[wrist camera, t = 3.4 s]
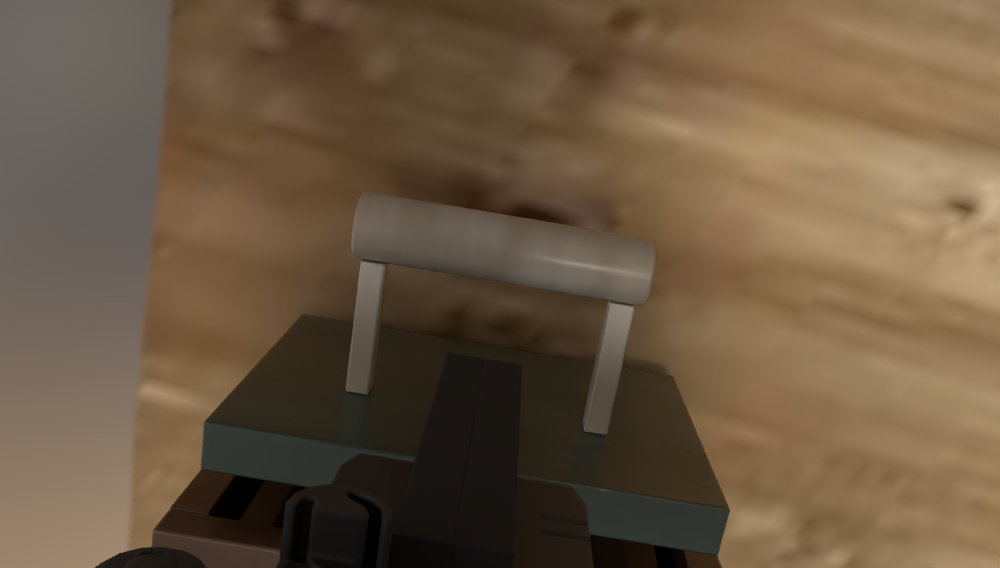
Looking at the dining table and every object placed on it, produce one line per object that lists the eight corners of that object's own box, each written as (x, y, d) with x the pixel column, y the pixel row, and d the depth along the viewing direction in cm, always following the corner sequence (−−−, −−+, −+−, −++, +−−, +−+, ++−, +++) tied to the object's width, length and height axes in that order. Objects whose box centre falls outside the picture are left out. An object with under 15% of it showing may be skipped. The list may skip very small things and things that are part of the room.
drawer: (318, 152, 24) (219, 195, 17) (709, 217, 24) (789, 290, 17) (264, 677, 29) (169, 895, 22) (590, 731, 29) (609, 968, 22)
